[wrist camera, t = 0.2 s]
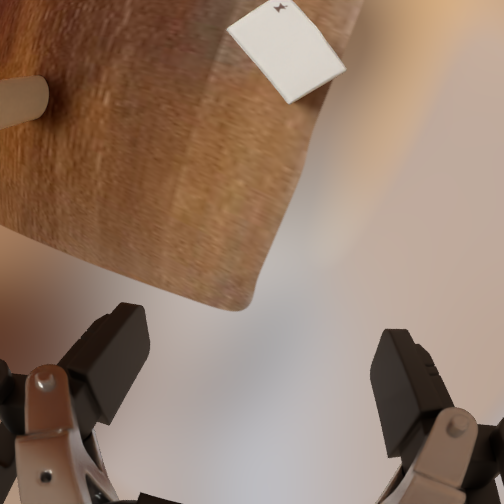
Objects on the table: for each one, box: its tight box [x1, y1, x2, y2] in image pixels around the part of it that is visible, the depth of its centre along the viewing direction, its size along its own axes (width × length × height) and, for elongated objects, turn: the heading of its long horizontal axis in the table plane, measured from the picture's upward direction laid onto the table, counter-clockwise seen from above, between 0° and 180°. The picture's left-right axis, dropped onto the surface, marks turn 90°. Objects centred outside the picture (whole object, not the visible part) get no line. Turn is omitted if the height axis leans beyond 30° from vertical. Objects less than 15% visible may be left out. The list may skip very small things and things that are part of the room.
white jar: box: [0, 75, 49, 130], centre depth 22 cm, size 6×6×11 cm
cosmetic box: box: [227, 0, 347, 104], centre depth 18 cm, size 6×4×12 cm
